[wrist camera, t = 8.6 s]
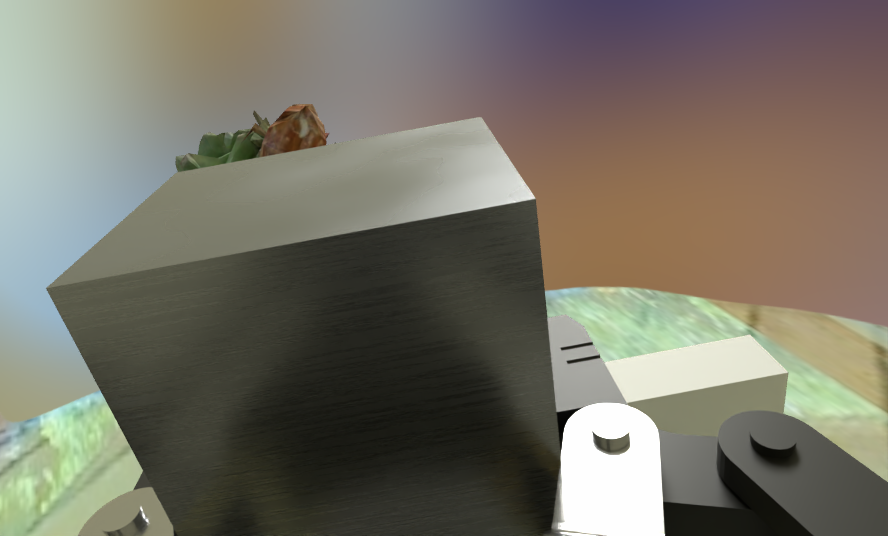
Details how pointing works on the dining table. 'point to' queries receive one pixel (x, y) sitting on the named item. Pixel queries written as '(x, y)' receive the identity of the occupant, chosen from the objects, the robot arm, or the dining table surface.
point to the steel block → (332, 341)
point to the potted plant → (259, 139)
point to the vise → (701, 384)
